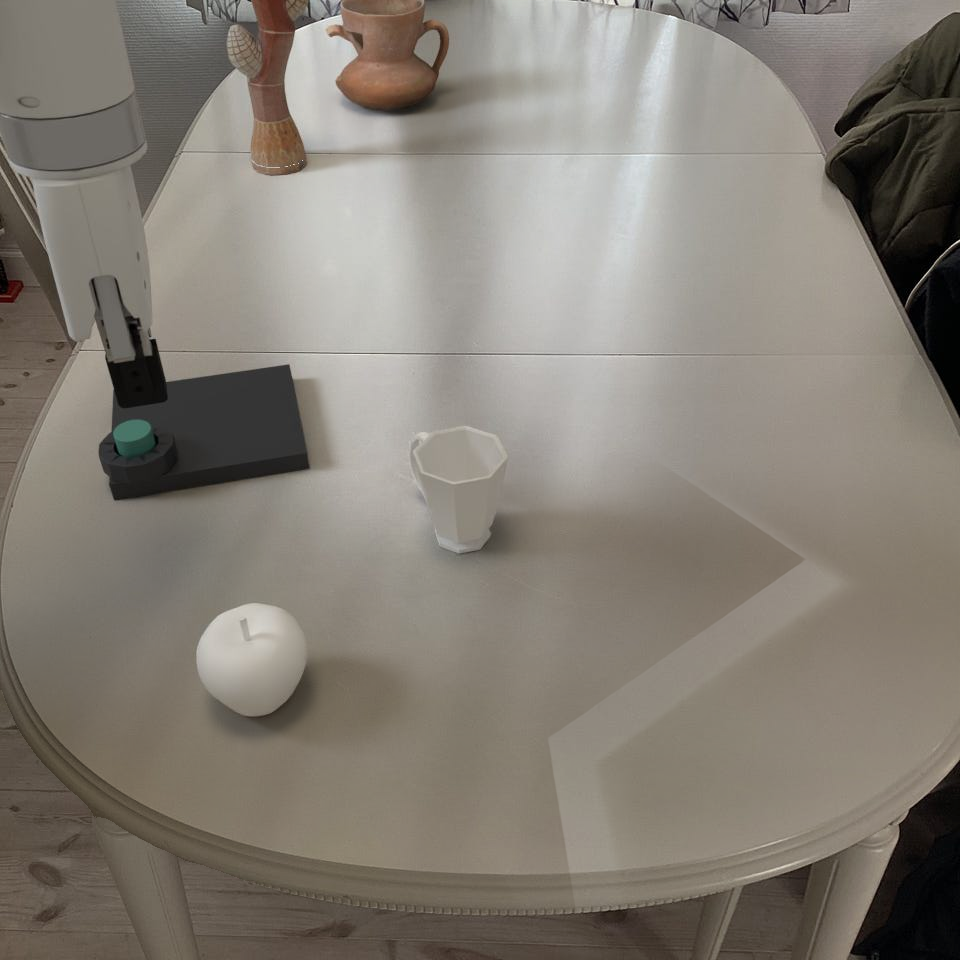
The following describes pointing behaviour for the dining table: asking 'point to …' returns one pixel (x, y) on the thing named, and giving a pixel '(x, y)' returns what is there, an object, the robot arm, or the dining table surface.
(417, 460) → the cup
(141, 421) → the button
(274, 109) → the vase
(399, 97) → the ceramic jug
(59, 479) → the dining table surface
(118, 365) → the robot arm
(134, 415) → the scale
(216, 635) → the plain white apple
